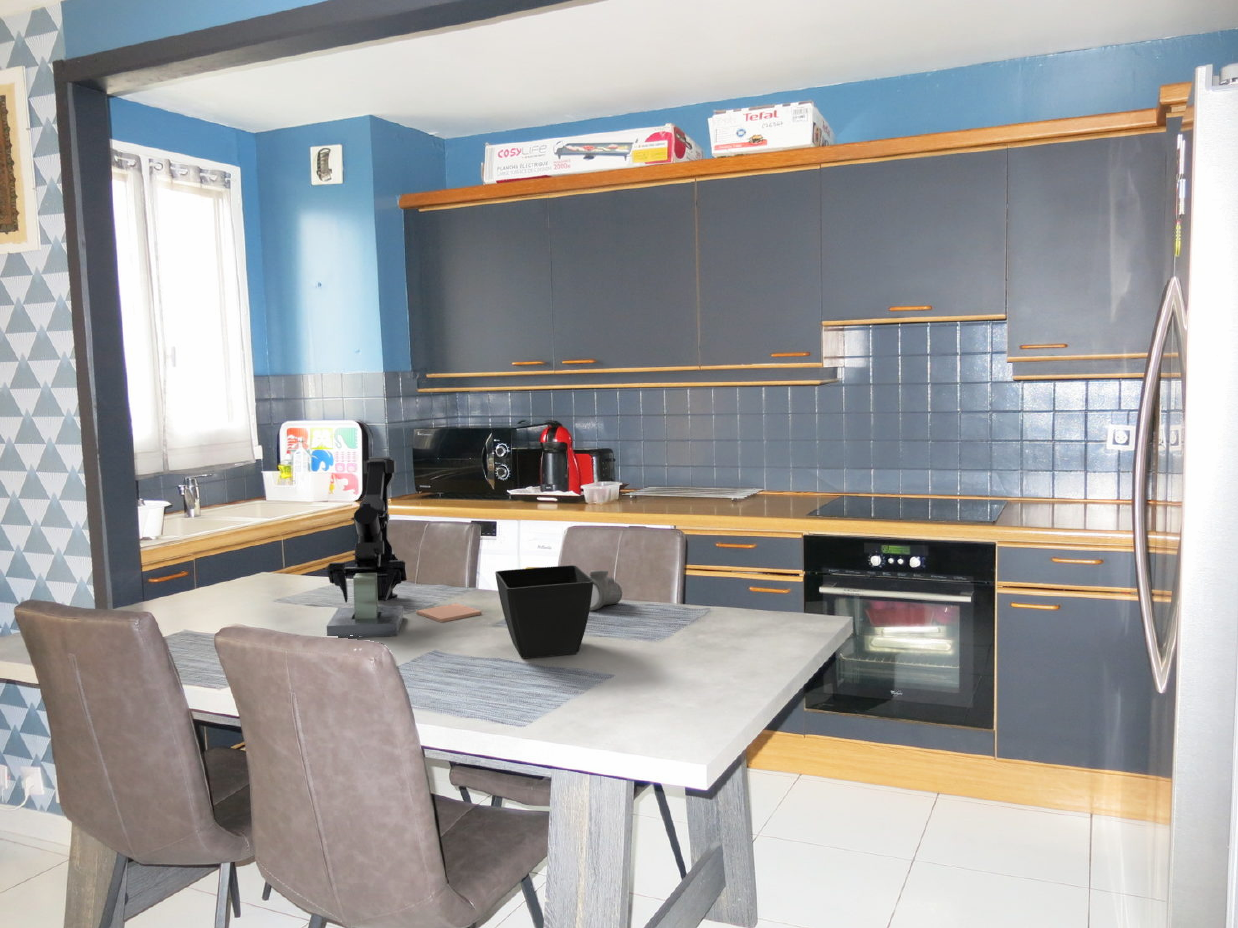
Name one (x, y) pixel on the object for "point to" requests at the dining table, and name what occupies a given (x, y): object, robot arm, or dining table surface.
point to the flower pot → (545, 608)
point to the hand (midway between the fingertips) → (365, 600)
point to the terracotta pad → (448, 612)
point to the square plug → (365, 595)
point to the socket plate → (366, 623)
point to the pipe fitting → (604, 590)
